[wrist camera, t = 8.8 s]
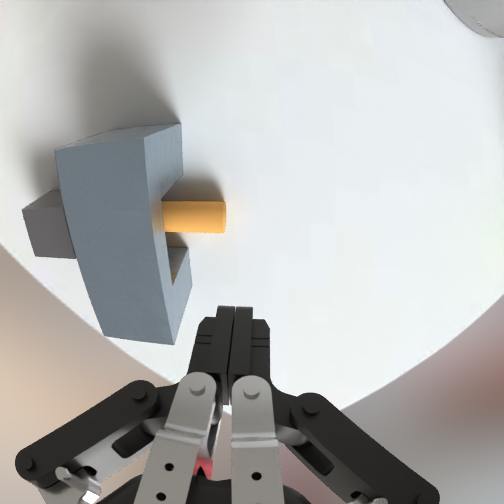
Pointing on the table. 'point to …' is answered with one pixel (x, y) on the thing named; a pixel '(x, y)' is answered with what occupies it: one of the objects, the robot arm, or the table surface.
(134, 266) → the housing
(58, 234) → the hammer
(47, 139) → the table surface
